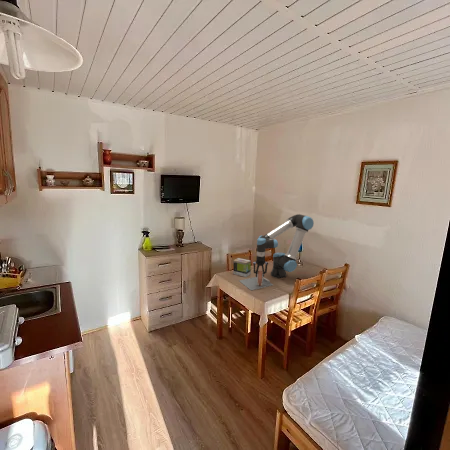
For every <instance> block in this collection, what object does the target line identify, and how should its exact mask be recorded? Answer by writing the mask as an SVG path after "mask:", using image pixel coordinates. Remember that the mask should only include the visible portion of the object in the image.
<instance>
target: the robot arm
mask: <svg viewBox="0 0 450 450" xmlns="http://www.w3.org/2000/svg"><path fill="white" fill-rule="evenodd" d="M294 227H295V229H296V230H295V232H294V235H293V237H292V240H291V242H290V245H289V246H288V250H287V252H286V253H285V252H275V253H273V255H272V258H273V259H272V269H271V271H270V276H271V277H272V278H275V279H284V278H286V277H287V272H288V273H292V272H294V271H295V270H296V269H297V266H298V264H297V254H298V252H299V250H300V247H301V245H302V242H303V241H304V238H305V235H306V234H307V233H308V232H309V230H310V231H311V230H312V228H313V227H314V220H313V218H312V217H310V216H308V215H304V214H300V213H299V214H298V213H297V214H295V215H292V216H290V217H288V218H287V219H286V220H285V222H283V223H281V224H280V225H278V226H277V227H275V228H273V229H272V230H270V231H269V232H268V233H266V234H264V235H259V236H258V238H257V239H256V259H255V261H253V262H252V264H253V273H254V274H255V277H257V281H258V271H259V268H260V267H261V269H262V270H261V271H262V281H263V278H265V275H266V274H267V273H268V272H267V271H268V265H269V262H267V261H266V249H267V250H268V249H275V248H277V247H278V246H279V242H278V240H277V239H276V238H277V237H279V236H280V235H282V234H283V233H285V232H286V231H288V230H289V229H293V228H294ZM264 266H265V267H264Z"/></svg>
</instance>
